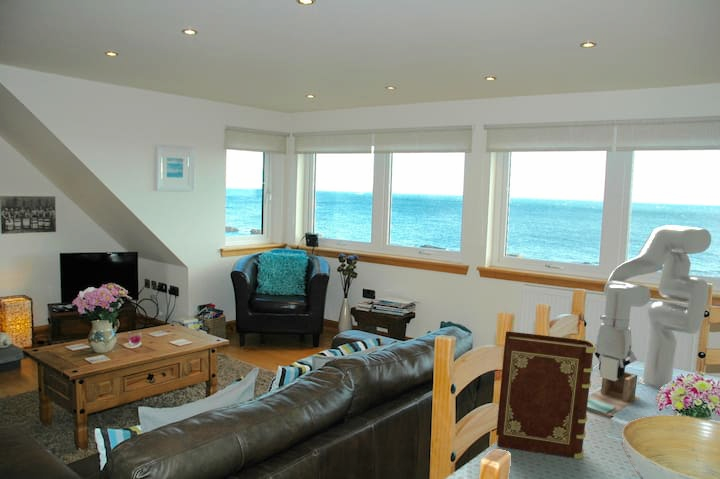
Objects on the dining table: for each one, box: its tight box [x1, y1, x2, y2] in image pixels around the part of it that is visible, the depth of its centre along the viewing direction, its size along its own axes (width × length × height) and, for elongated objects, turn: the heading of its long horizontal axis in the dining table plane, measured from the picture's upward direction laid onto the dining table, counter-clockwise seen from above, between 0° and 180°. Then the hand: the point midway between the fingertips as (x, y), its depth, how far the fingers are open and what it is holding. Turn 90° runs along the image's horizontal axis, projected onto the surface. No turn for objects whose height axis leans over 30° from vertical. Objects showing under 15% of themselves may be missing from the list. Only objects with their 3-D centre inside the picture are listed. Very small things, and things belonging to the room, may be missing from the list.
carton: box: [599, 355, 620, 381], centre depth 183 cm, size 6×5×7 cm
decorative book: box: [495, 331, 595, 460], centre depth 148 cm, size 22×8×30 cm, turn 78°
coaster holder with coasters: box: [587, 371, 641, 419], centre depth 184 cm, size 25×12×8 cm, turn 134°
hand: (611, 374), depth 184 cm, fingers closed on carton, 5 cm apart
